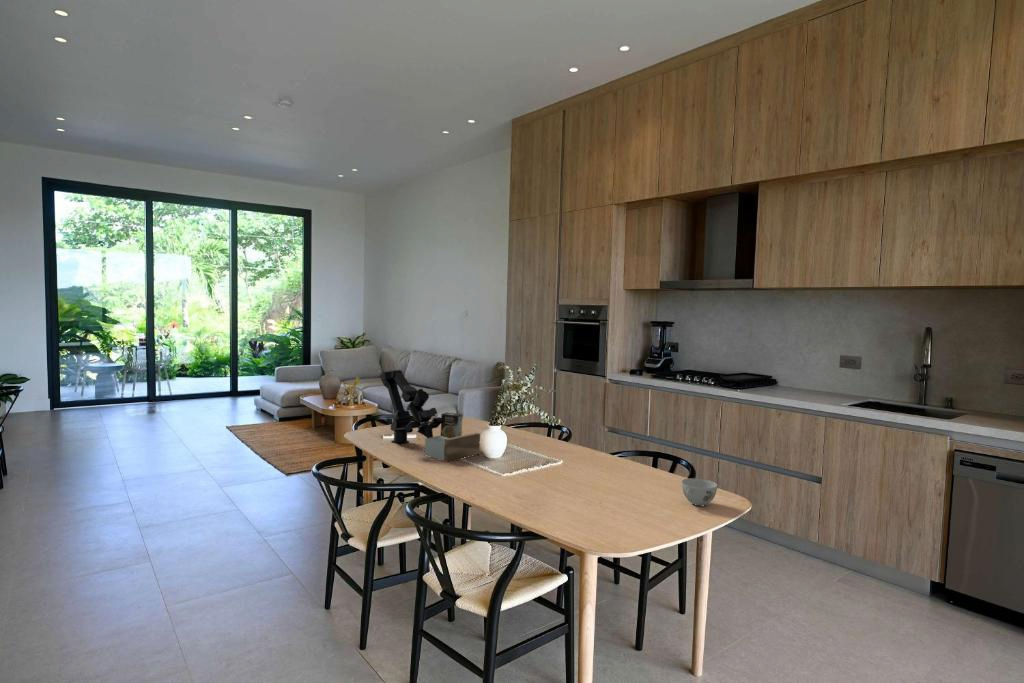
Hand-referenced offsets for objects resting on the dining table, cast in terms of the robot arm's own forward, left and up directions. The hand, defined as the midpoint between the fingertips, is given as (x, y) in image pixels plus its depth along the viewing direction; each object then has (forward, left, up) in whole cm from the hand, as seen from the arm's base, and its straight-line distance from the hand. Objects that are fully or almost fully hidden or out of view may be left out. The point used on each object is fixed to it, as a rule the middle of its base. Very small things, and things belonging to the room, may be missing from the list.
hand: (432, 439), depth 261 cm
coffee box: (-5, +17, -7) cm, 19 cm away
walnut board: (+14, +6, -7) cm, 17 cm away
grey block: (+7, 0, -7) cm, 10 cm away
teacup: (+117, +25, -7) cm, 119 cm away
